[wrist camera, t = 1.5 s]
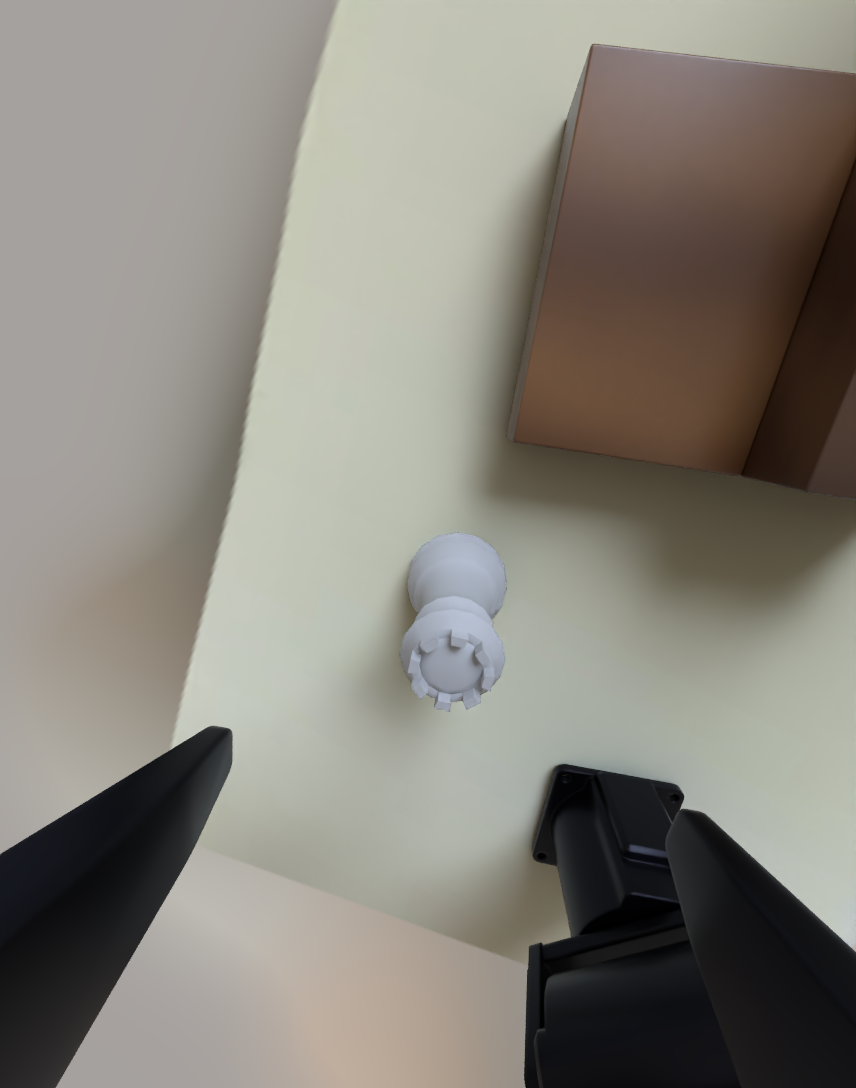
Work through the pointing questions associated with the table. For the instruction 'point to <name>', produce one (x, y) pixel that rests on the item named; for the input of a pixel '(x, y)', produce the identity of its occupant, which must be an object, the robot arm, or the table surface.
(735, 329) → the brown wooden stepped block
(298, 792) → the table surface
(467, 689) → the rook chess piece
